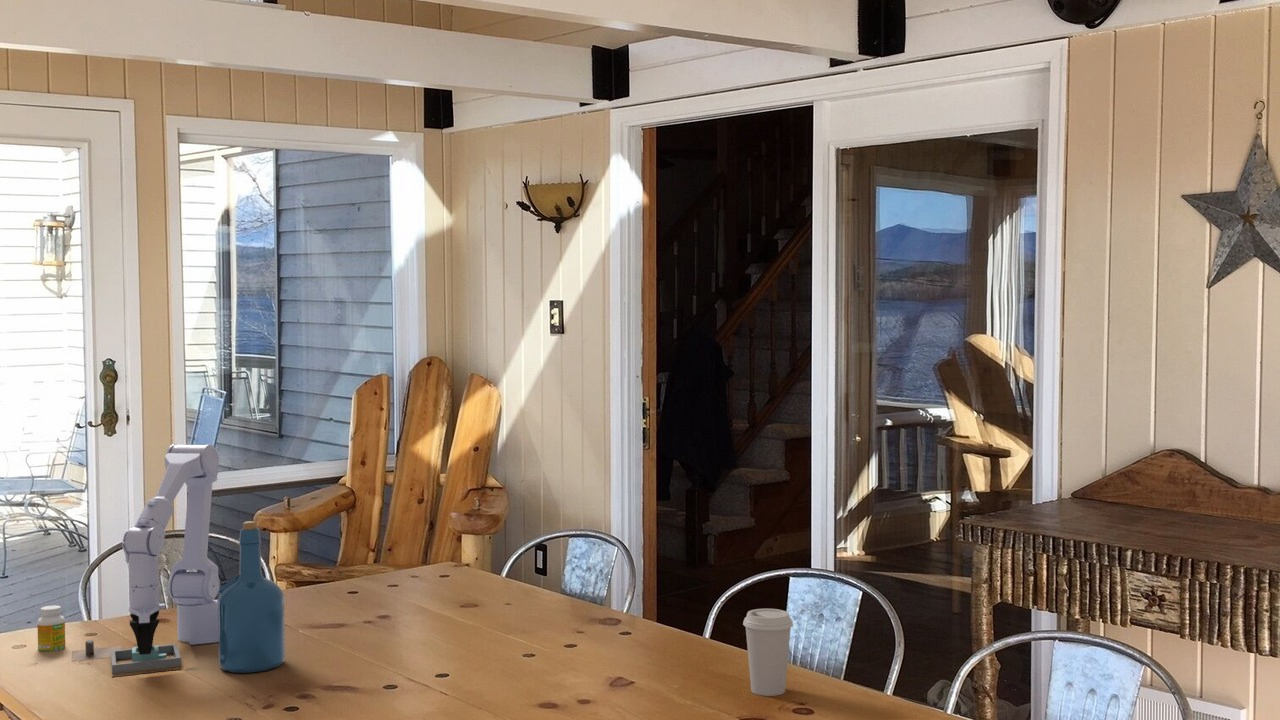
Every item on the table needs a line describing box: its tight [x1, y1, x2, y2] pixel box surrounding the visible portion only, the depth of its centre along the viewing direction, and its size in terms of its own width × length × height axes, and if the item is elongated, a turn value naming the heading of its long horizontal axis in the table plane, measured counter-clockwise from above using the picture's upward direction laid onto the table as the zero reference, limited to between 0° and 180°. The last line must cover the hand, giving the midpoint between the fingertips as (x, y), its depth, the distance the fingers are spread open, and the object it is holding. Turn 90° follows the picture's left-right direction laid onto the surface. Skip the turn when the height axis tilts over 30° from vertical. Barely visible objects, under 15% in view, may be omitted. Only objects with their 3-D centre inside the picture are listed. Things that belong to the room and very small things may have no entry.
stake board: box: [71, 639, 124, 663], centre depth 265 cm, size 10×9×4 cm
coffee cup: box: [742, 608, 794, 697], centre depth 238 cm, size 10×10×15 cm
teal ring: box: [131, 644, 167, 662], centre depth 258 cm, size 5×7×3 cm
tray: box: [110, 643, 182, 678], centre depth 258 cm, size 13×12×2 cm
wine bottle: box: [217, 520, 286, 674], centre depth 257 cm, size 14×13×30 cm
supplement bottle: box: [36, 605, 66, 653], centre depth 269 cm, size 5×5×10 cm
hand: (145, 649), depth 257 cm, fingers open, 6 cm apart
